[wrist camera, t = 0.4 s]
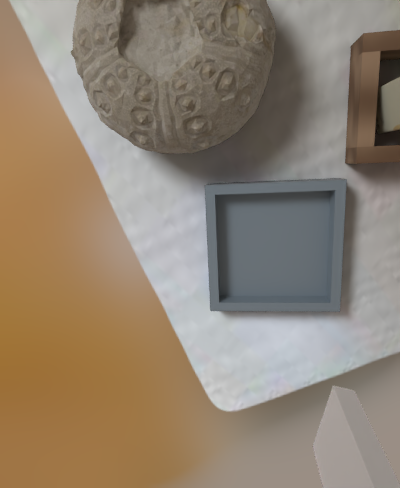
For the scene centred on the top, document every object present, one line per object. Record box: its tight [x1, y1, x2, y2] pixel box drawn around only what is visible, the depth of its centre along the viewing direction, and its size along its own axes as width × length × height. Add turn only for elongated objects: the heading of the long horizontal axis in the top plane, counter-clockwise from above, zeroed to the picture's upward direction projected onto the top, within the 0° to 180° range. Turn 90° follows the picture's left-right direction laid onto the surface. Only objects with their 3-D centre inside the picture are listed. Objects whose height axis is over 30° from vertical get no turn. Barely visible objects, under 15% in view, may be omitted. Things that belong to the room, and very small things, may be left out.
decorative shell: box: [71, 0, 276, 154], centre depth 31 cm, size 18×18×10 cm
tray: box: [205, 178, 347, 312], centre depth 37 cm, size 14×14×2 cm
